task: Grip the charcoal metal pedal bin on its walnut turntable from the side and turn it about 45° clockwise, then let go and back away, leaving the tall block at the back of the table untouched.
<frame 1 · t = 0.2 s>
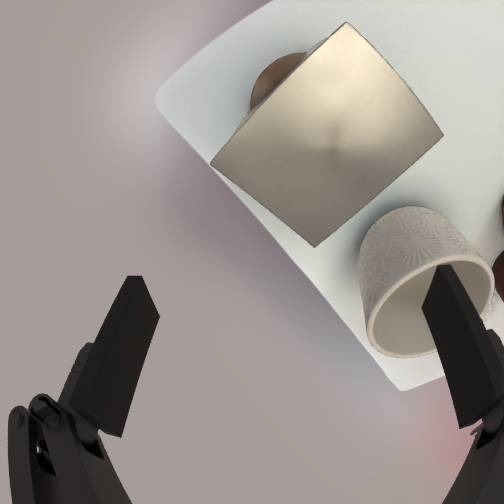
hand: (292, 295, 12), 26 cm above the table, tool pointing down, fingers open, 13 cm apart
bin: (310, 126, 23), point 10 cm above the table, hinge at 0.0°
planter: (399, 239, 40), on the table
turntable: (308, 105, 30), on the table
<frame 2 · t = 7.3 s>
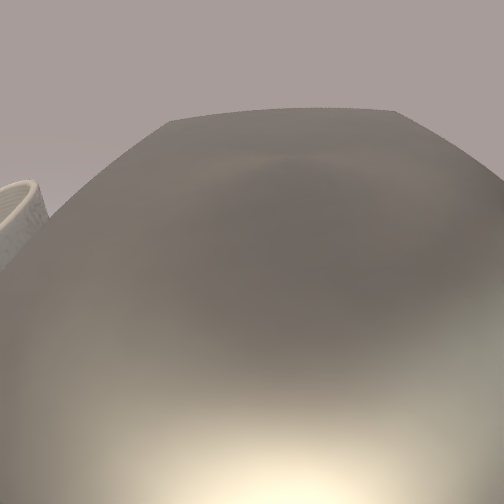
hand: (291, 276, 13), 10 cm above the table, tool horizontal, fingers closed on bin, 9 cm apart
bin: (293, 354, 11), point 10 cm above the table, hinge at 0.1°, touching gripper
planter: (44, 364, 21), on the table
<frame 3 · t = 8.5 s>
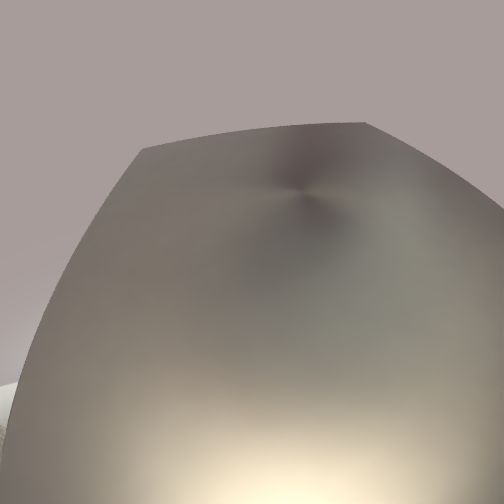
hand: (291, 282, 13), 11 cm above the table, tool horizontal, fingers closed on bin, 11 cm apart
bin: (293, 365, 11), point 10 cm above the table, hinge at -30.3°, touching gripper
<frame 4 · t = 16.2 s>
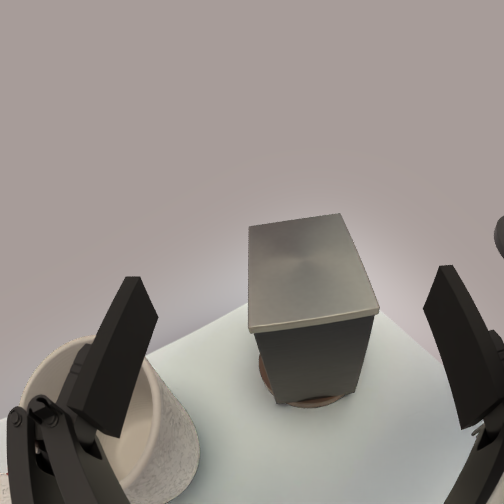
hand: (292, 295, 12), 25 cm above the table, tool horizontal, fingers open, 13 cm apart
bin: (307, 311, 30), point 10 cm above the table, hinge at -40.7°
planter: (153, 455, 28), on the table
turntable: (310, 362, 35), on the table
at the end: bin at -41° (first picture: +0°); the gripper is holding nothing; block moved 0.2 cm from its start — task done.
